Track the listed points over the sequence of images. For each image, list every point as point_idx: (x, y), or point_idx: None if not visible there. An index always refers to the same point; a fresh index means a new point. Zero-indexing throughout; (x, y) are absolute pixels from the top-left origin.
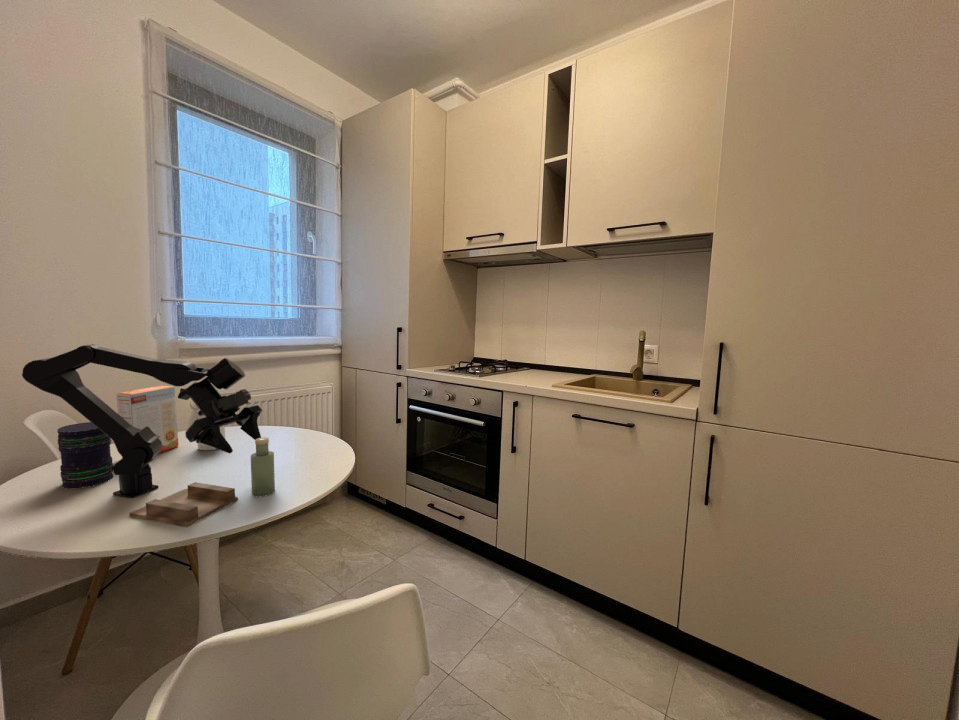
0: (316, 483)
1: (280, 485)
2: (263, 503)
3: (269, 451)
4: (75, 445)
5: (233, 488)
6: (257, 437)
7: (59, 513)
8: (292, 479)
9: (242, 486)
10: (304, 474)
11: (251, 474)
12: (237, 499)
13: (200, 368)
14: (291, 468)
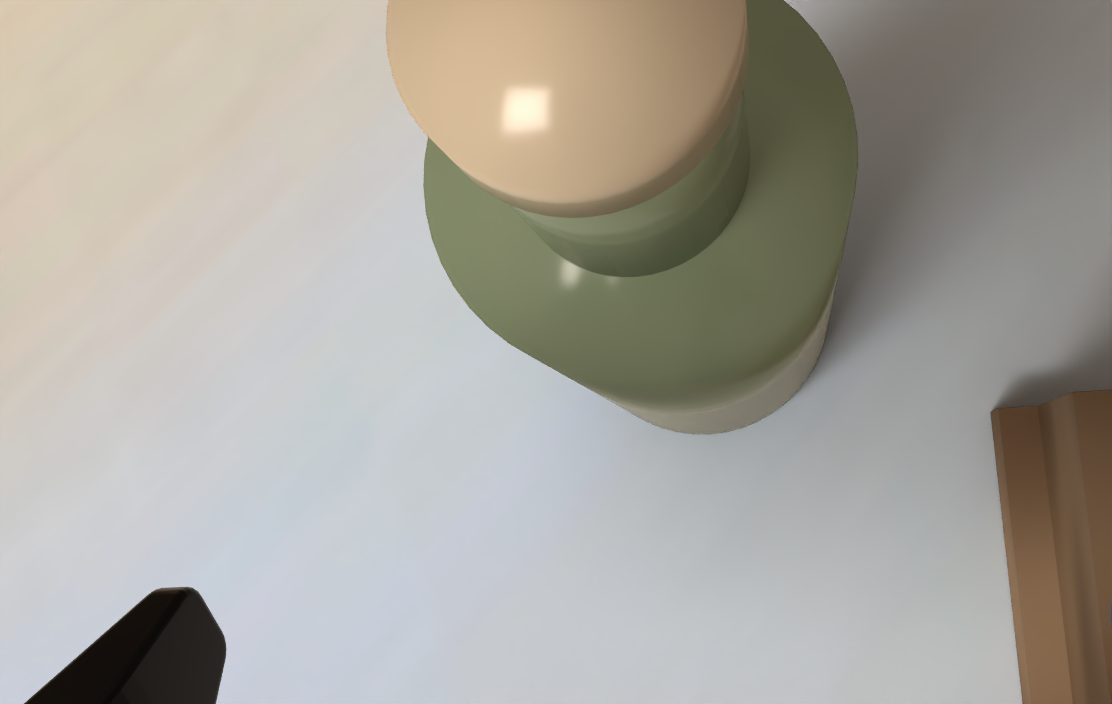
0: None
1: None
2: (929, 73)
3: (441, 182)
4: None
5: (1084, 404)
6: (155, 701)
7: None
8: (313, 282)
9: (668, 690)
10: (161, 264)
11: (815, 331)
12: (992, 412)
13: None
14: (57, 544)
